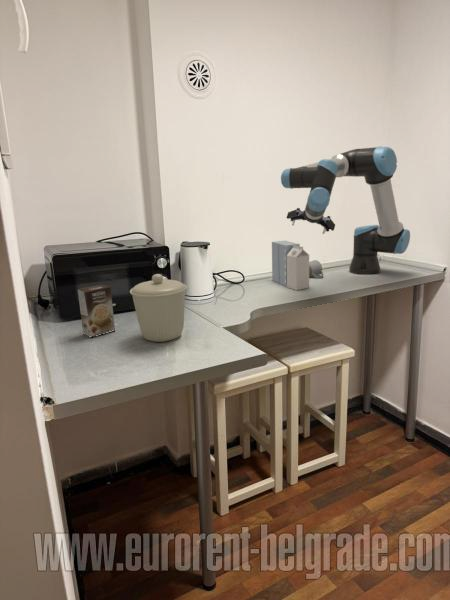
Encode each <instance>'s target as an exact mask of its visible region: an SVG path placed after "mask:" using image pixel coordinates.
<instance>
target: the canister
mask: <svg viewBox="0 0 450 600" xmlns="http://www.w3.org/2000/svg"><path fill="white" fill-rule="evenodd" d="M187 289H188V286H187V284H186V283H182V282H181V281H179V280H175V279H164V276H163V275H162V274H161V273H156V274H153V275H152V276H151V280H148V281H143V282H140V283H137V284H136V285H134V287H131V288H130V290H129V293H130V294H129V295H131V296H132V300H133V305H134V308H135V313H136V318H137V322H138V326H139V330H140V333H141V335H142V337H143V338H144V339H145V340H147V341H149V342H158V343H160V342H161V343H162V342H163V343H165V342H169V341H173V340H175V339H177V338H179V337H181V335H182V334H183V330H184V326H185V325H184V324H185V306H186V305H185V304H186V303H185V302H186V301H185V300H186V290H187Z"/></svg>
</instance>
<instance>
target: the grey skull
mask: <svg viewBox="0 0 450 600" xmlns="http://www.w3.org/2000/svg"><path fill="white" fill-rule="evenodd" d="M311 277H312V278H313V277H314V278H316V279H322V278H323V277H324V272H323V266H322V263H321V262H320V261H319V260H318V259H313V260H311V261H310V260H309V278H311Z"/></svg>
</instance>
